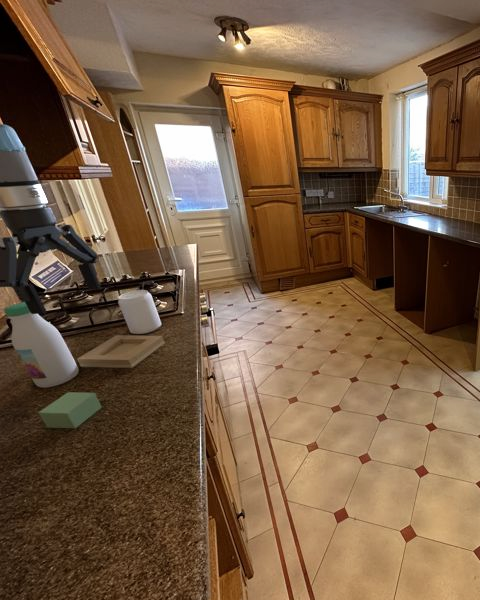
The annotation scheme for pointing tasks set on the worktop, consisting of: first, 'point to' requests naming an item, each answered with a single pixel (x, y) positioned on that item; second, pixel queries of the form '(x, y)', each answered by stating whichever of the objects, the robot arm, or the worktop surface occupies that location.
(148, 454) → the worktop surface
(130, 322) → the white cylindrical container
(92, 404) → the green block
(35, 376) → the milk bottle
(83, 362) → the base pad
